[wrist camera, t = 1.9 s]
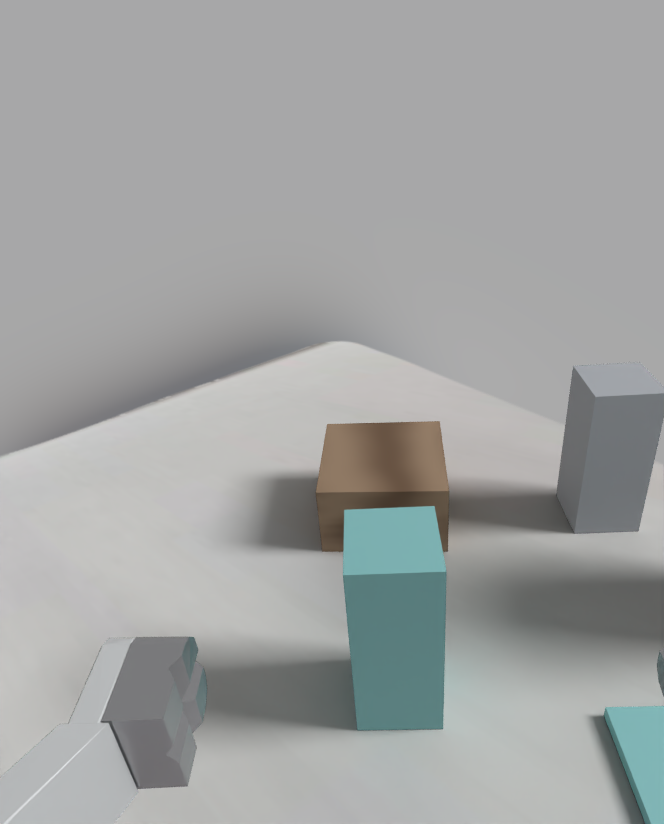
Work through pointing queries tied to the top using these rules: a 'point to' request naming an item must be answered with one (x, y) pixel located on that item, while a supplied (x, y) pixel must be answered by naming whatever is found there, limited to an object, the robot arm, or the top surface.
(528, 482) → the top surface
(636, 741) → the tile
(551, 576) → the top surface
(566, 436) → the grey block
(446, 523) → the base block
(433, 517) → the teal block
